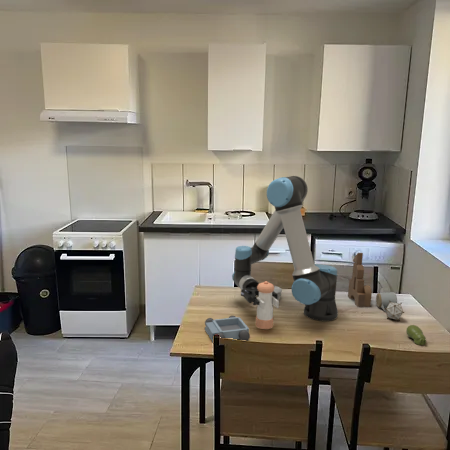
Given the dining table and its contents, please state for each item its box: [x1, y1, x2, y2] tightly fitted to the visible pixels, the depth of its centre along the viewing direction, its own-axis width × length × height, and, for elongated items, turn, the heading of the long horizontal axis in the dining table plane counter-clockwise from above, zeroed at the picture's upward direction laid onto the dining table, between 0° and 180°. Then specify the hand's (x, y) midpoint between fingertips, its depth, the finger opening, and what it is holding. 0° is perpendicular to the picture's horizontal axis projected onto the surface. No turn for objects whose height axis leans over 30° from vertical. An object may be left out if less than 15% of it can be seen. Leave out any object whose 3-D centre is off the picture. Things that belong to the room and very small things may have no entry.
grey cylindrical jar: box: [375, 291, 398, 313], centre depth 205 cm, size 11×8×8 cm
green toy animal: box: [405, 324, 427, 346], centre depth 174 cm, size 6×5×10 cm
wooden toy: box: [347, 252, 373, 308], centre depth 212 cm, size 16×7×25 cm, turn 4°
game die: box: [385, 300, 406, 322], centre depth 193 cm, size 9×8×10 cm
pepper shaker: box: [255, 280, 275, 330], centre depth 178 cm, size 7×7×19 cm
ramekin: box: [273, 285, 283, 301], centre depth 214 cm, size 11×11×5 cm
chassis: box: [204, 315, 251, 343], centre depth 175 cm, size 15×16×4 cm
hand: (270, 305), depth 173 cm, fingers closed on pepper shaker, 5 cm apart
